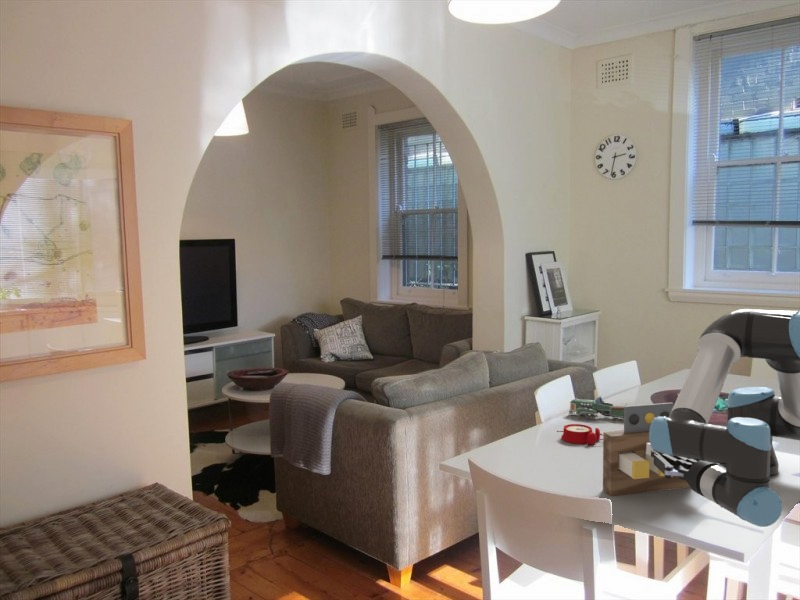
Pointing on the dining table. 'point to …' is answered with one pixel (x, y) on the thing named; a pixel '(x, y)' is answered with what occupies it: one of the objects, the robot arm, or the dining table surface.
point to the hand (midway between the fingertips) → (649, 448)
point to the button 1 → (633, 465)
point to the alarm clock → (580, 434)
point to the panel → (622, 482)
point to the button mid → (652, 464)
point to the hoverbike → (596, 408)
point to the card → (644, 416)
